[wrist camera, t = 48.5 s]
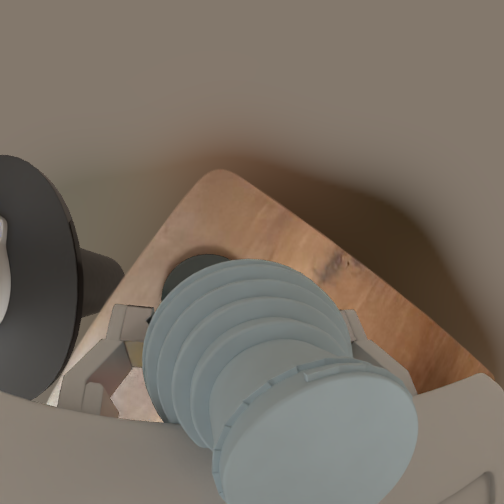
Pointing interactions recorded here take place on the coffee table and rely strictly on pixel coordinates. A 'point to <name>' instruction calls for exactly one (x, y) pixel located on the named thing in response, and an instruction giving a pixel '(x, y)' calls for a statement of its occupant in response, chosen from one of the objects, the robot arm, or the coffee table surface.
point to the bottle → (276, 389)
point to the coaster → (189, 270)
